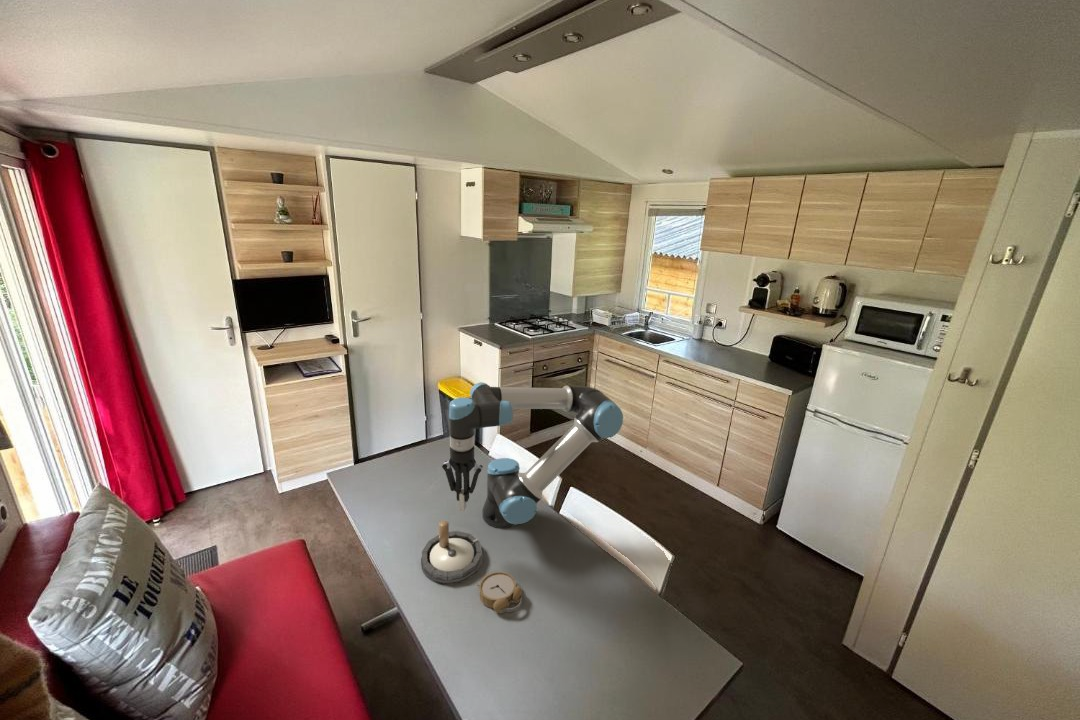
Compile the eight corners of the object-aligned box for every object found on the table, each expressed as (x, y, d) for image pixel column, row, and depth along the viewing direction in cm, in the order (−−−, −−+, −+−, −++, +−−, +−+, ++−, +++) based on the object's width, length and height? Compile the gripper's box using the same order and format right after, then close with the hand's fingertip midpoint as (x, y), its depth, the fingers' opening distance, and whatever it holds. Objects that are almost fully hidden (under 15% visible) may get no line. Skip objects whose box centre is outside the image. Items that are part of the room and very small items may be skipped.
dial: (482, 559, 144) (482, 536, 141) (443, 580, 135) (442, 556, 132) (459, 534, 154) (459, 512, 151) (422, 553, 145) (420, 530, 142)
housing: (477, 533, 157) (477, 525, 156) (487, 577, 139) (487, 568, 138) (419, 543, 151) (419, 534, 150) (422, 590, 133) (422, 580, 132)
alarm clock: (500, 565, 140) (531, 588, 130) (501, 579, 141) (532, 602, 131) (471, 584, 133) (501, 610, 122) (472, 598, 134) (502, 624, 123)
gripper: (437, 449, 133) (440, 513, 141) (479, 454, 131) (479, 518, 139) (446, 437, 140) (447, 498, 148) (485, 442, 138) (485, 503, 146)
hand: (463, 508), depth 144 cm, fingers closed
